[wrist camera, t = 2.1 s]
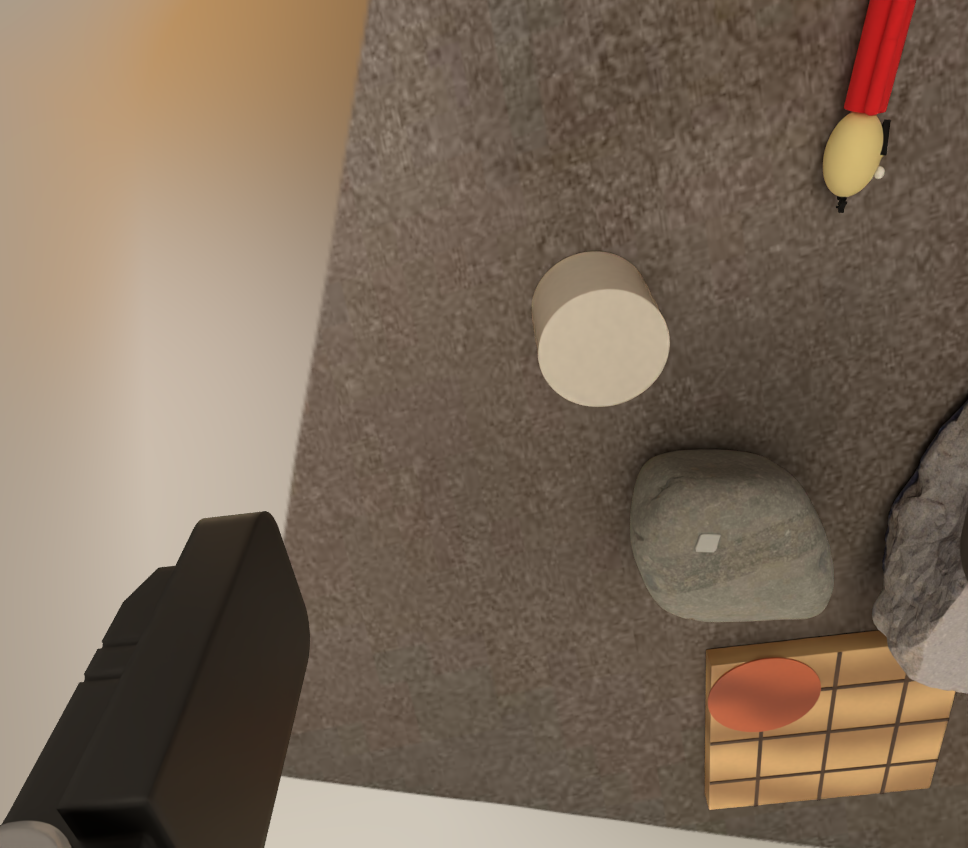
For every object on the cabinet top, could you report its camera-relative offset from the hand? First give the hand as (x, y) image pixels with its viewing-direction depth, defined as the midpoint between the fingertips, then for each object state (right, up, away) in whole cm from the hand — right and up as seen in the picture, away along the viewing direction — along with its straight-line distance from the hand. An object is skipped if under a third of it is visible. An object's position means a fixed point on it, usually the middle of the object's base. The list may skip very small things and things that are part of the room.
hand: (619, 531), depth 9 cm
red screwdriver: (+8, +16, +18) cm, 25 cm away
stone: (+10, -3, +30) cm, 32 cm away
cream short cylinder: (+3, +6, +24) cm, 25 cm away
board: (+19, -16, +38) cm, 46 cm away
